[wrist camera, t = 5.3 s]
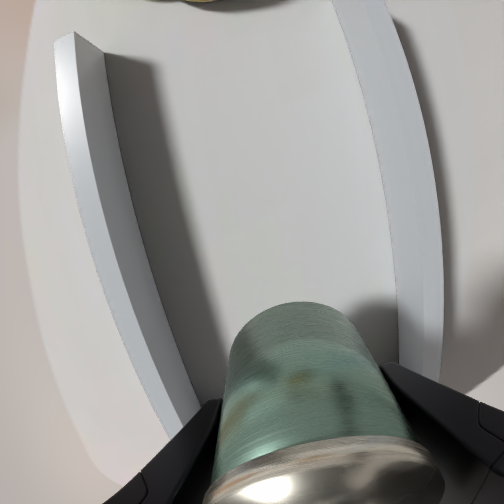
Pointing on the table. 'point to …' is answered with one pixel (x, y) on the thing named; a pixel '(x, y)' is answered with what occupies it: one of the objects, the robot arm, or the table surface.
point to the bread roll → (200, 0)
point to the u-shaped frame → (130, 241)
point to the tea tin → (314, 419)
